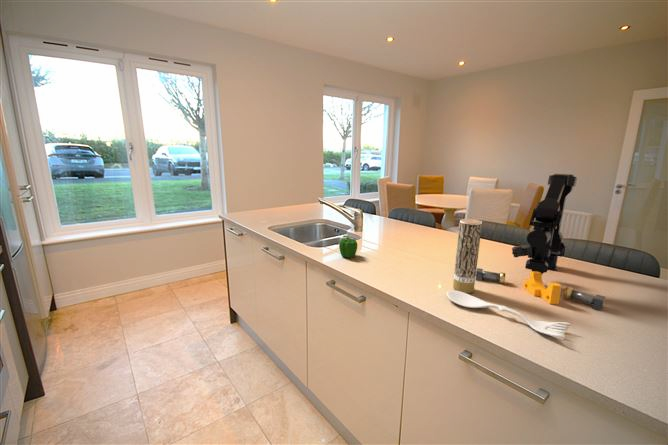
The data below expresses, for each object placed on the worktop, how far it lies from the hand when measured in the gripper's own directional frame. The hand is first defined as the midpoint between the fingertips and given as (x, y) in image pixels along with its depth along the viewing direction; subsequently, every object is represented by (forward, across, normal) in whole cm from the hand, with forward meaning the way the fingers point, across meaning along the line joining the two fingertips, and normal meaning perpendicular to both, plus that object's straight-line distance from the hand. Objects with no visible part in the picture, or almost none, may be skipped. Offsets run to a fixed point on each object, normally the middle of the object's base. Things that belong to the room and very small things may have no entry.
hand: (534, 281), depth 108 cm
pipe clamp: (+1, +9, +2) cm, 9 cm away
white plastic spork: (+2, +32, -6) cm, 33 cm away
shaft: (+1, +6, +14) cm, 15 cm away
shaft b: (+1, +6, -14) cm, 15 cm away
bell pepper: (+2, +18, -71) cm, 73 cm away
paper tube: (+1, +21, -19) cm, 29 cm away
